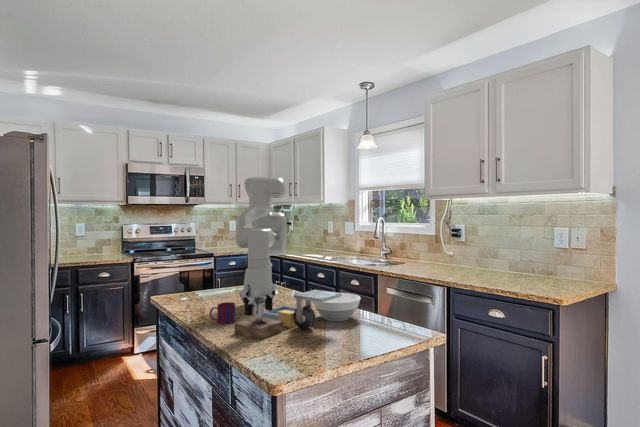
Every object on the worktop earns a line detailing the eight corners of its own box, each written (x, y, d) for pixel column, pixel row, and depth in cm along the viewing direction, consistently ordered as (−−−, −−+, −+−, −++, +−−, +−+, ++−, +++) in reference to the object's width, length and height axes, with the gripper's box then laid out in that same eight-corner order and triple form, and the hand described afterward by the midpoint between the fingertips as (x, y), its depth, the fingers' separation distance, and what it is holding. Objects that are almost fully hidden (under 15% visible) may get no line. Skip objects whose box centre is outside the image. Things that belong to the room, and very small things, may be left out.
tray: (283, 311, 174) (283, 305, 174) (303, 314, 167) (303, 308, 167) (260, 318, 163) (260, 311, 163) (280, 322, 156) (280, 315, 156)
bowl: (370, 317, 163) (370, 296, 163) (339, 327, 149) (339, 305, 149) (334, 309, 176) (333, 290, 176) (301, 318, 162) (301, 297, 162)
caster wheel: (307, 322, 156) (307, 288, 156) (341, 329, 146) (341, 293, 146) (287, 329, 146) (286, 293, 146) (321, 337, 137) (321, 299, 137)
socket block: (259, 325, 152) (259, 316, 152) (283, 331, 145) (283, 321, 145) (234, 333, 142) (234, 323, 142) (258, 339, 135) (258, 329, 135)
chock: (284, 322, 156) (284, 309, 156) (296, 325, 153) (296, 311, 153) (277, 324, 153) (277, 311, 153) (289, 327, 149) (289, 314, 149)
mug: (237, 322, 157) (237, 304, 157) (212, 326, 151) (212, 308, 151) (232, 318, 162) (231, 301, 162) (206, 322, 157) (206, 304, 157)
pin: (259, 330, 146) (259, 296, 146) (266, 331, 144) (266, 298, 144) (251, 332, 143) (251, 298, 143) (259, 334, 141) (258, 299, 141)
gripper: (268, 261, 152) (268, 306, 152) (232, 265, 139) (232, 316, 138) (283, 262, 148) (283, 309, 148) (247, 267, 134) (248, 319, 134)
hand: (259, 312), depth 143 cm, fingers open, 9 cm apart
